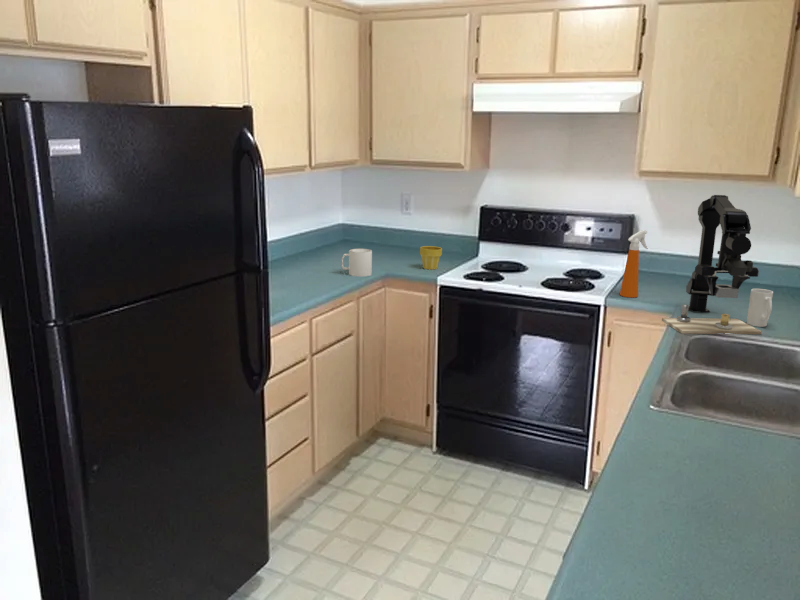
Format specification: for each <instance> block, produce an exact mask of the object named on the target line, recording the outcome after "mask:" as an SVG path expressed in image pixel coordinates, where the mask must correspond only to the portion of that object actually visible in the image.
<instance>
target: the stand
mask: <svg viewBox="0 0 800 600" xmlns="http://www.w3.org/2000/svg"><path fill="white" fill-rule="evenodd" d="M688 307H689V304H682V306H681V311H680V312H681V313H680V315H678V316H677V317H676V318H677V321H680V322H690V320H691V318H692V317H688V313H689V309H688Z"/></svg>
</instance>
